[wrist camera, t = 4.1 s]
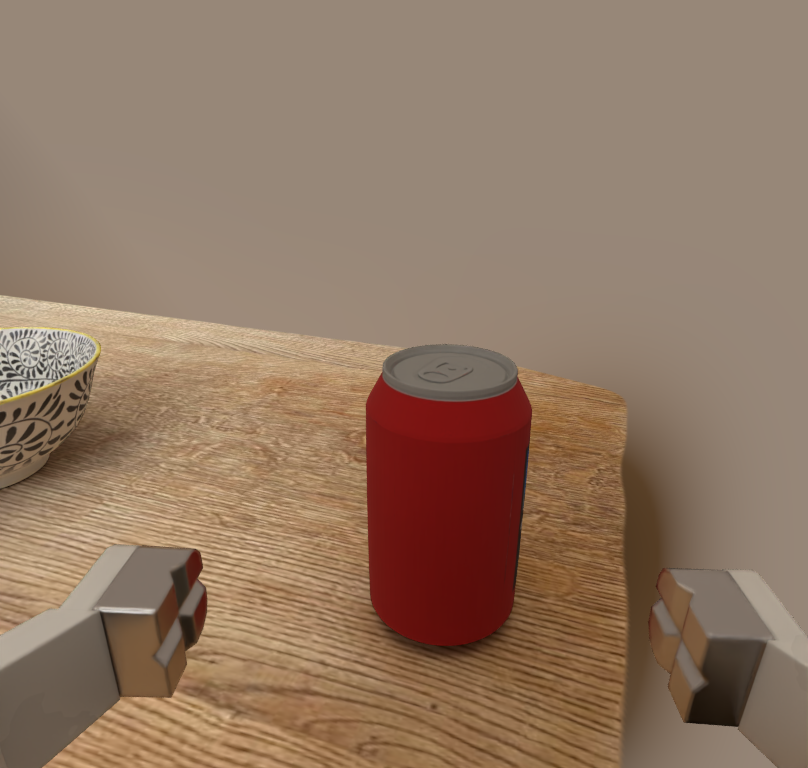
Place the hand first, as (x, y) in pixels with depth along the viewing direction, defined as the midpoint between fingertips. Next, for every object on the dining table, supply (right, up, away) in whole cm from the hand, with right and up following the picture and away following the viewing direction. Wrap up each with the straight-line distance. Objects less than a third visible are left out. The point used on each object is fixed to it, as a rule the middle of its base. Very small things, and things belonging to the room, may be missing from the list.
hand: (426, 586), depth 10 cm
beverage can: (+1, -7, +17) cm, 19 cm away
